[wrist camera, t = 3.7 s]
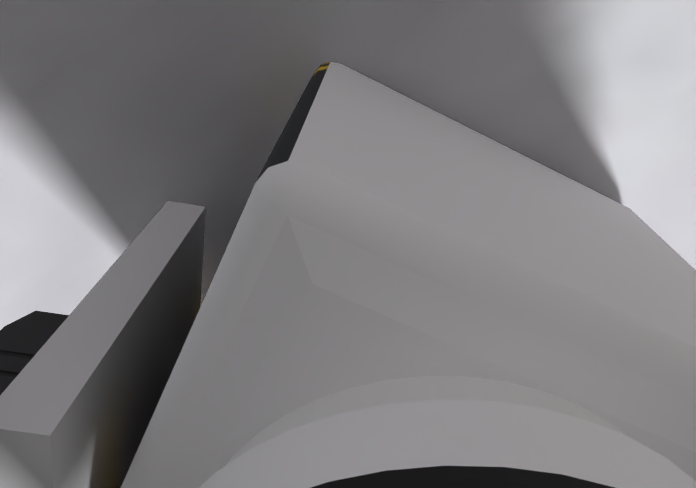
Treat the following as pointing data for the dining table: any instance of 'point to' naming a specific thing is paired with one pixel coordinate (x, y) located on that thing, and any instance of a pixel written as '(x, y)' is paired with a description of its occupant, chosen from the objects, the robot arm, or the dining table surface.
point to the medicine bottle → (428, 321)
